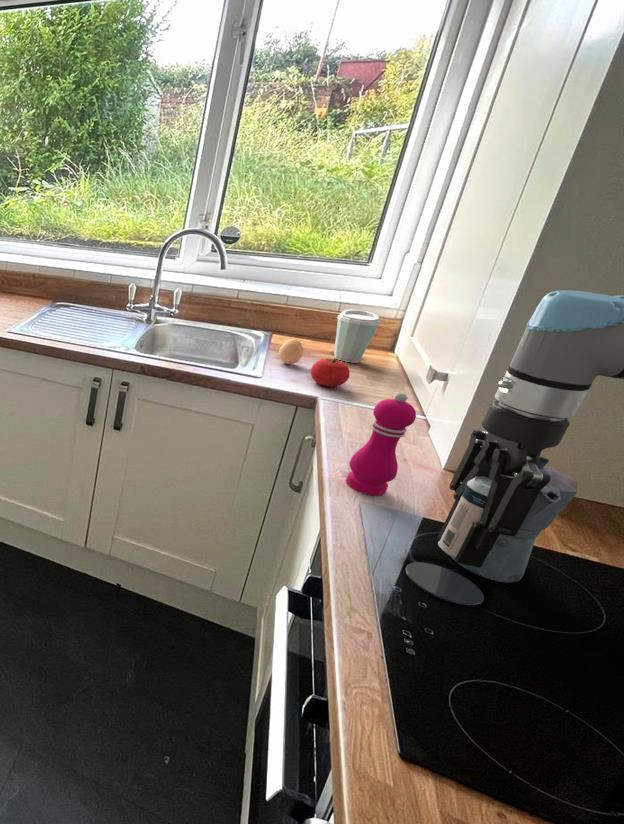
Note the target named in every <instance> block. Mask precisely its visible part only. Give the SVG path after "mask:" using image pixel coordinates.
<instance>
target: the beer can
mask: <svg viewBox="0 0 624 824" xmlns="http://www.w3.org/2000/svg"><path fill="white" fill-rule="evenodd" d="M491 483H492V480H491V479H490V478H487V477H475V478H473V479H472V480H470V481H468V482H467V486H466V488H465V490H464V492H463V494H462V496H461V499H460V501H459V503H458V505H457V507H456V509H455V511H454V513H453V515H452V517H451V519H450V521H449V523H448V525H447V527H446V529H445V531H444V533H443V535H442V537H441V540H439V541H438V542H437V545H438V547H439V548H440V549H441V550H442V551H443V552H444V553H445V554H447V555H448V556H450V557H451V556H452V557H454V558H456V556H457V554H458V552H459V550H460V549H461V547H462V545H463V543H464V541H465V539H466V537H467V535H468V533H469V531H470V529H471V527H472V525H473V524H472V522H473V521H474V522H480V519H481V516H482V512H483V509H484V506H485V503H486V499H487V496H488V493H489V489H490V486H491ZM452 557H451V558H452Z"/></svg>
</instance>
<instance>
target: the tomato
mask: <svg viewBox="0 0 624 824" xmlns="http://www.w3.org/2000/svg"><path fill="white" fill-rule="evenodd" d="M349 368H350V367H348V365H347V364H346V362H343V361H339V360H336V358H334V357H333V358H322V359H321V358H320V359H319V360H317V361H316V362H314V364H313V365H311V369H310V376H311V378H312V380H313V381H314V382H315V383H317V384H318V385H321V386H323V387H328V388H336V387H339V386H342V385H343V384H345V383H346V382H347V381H348V380H349V379H350V375H351V373H350V369H349Z"/></svg>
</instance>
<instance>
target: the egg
mask: <svg viewBox="0 0 624 824" xmlns="http://www.w3.org/2000/svg"><path fill="white" fill-rule="evenodd" d="M303 354H304V347H303V344H302V342H301V341H300V340H298V339H296V338H290V339H288V340H285V342H283V344H281V346H280V348H279V349H278V358H279V360H280V361H281V362H282V363H283V364H285V365H295V364H297V363H298V362H299V361H300V360H301V359H302V357H303Z"/></svg>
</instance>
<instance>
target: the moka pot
mask: <svg viewBox="0 0 624 824" xmlns="http://www.w3.org/2000/svg"><path fill="white" fill-rule="evenodd" d="M548 463H550V460H549V459H548V458H546V457H543V456H540V459H539V463H538V465H537V468H538V470H539V472H540V473H543V474H548V475H550V482H549V483H548V484H547V485H546V486H545V487H544V488H543V489H542V490H541V491H540V492H539V494H538V496H537V498H536V500H535V501H534V503H533V505H532V507H531V509H530V511H529V512H528V514H527V516H526V518H525V520H524V522H523V523H522V525H521V527H520V529H519V531H518V533H517V534H516V536H514V537H512V536H507V535H502V534H500V535H499V536H498V538H497V540H496V542H495V544H494V546H493V548H492V550H491V551H490V552H489V553H488V555H487V557H486V559H485V561H484V563H483V565H482V567H481V568H479V567H474V566H469V565H465V564H460V563H457V564H458V565H459V566H461V567H462V568H463V569H465V570H467V571H469V572H470V573H473V574H475V575H478V576H480V577H482V578H485V579H488V580H491V581H494V580H495V581H494V582H500V583H507V584H509V583H517V582H519V581H520V580H521V579H522V578H523V577H524V575H525V572H526V569H527V566H528V563H529V560H530V557H531V554H532V551H533V548H534V545H535V543H536V540H537V539H536V538H537V537H538V536H539V535H540V534H541V532H542V531H545V530H546V529H547V528H548V527H549V526H550V525H551V524H552V523H553V522H554V520H555V519H556V518H557V517H558V515H559V514H560V513H561V512H562V511H563V510H564V509H565V508H566V506H567V505H568V504H569V503H570V502H571V501H572V500H573V499H574V498H575V496H577V493H578V481H577V480H575V479H574V478H572V477H570V476H568V475H567V474H565V473H563V472H561V471H559V470H557V469H556V468H554V467H552V466H548V465H547V464H548ZM500 476H505V475H500ZM506 477H511V476H506ZM511 478H515V477H511ZM450 557H451V559H452V560H453V561H454V562H456V561H455V558H454V557H452V556H450Z"/></svg>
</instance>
